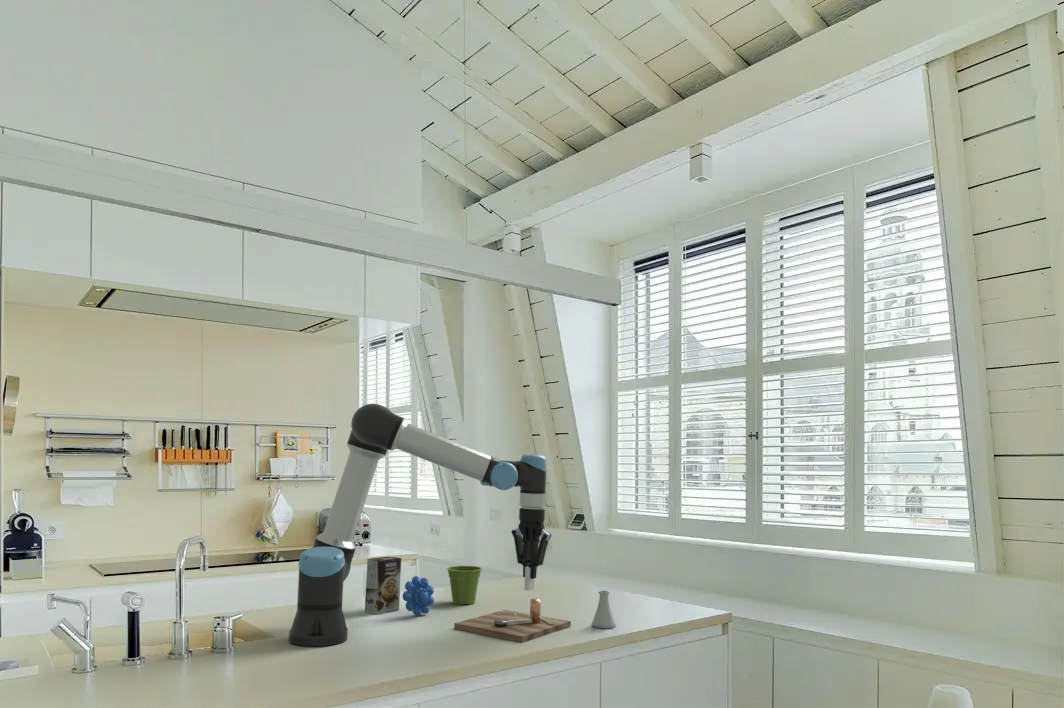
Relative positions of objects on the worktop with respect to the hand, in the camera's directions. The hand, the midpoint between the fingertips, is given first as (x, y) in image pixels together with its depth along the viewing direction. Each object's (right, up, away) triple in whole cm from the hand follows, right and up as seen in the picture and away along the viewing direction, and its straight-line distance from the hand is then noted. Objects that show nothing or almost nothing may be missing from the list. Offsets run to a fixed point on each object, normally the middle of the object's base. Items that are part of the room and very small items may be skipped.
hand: (529, 589), depth 237 cm
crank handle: (-3, -8, -5) cm, 10 cm away
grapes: (-33, -11, +9) cm, 36 cm away
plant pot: (-22, -13, +30) cm, 40 cm away
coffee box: (-46, -11, +16) cm, 50 cm away
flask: (+22, -12, +2) cm, 25 cm away
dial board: (-5, -10, -3) cm, 11 cm away
